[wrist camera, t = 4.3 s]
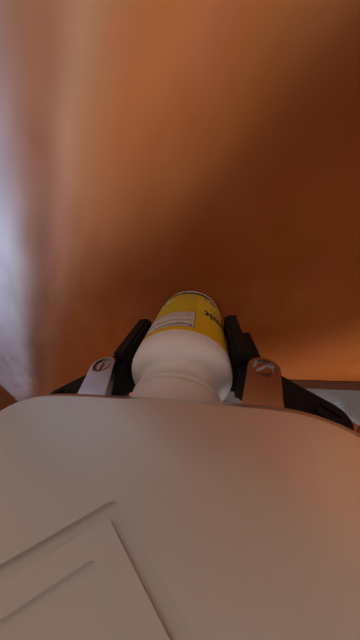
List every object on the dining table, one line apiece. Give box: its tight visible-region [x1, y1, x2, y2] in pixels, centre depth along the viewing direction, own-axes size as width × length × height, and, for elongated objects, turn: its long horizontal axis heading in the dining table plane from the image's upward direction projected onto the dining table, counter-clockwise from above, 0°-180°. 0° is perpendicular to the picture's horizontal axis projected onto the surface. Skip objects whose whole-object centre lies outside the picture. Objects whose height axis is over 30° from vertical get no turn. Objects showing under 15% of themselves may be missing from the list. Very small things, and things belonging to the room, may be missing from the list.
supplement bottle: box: [131, 291, 233, 402], centre depth 10 cm, size 5×5×10 cm
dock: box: [222, 380, 360, 425], centre depth 18 cm, size 16×24×4 cm, turn 97°
